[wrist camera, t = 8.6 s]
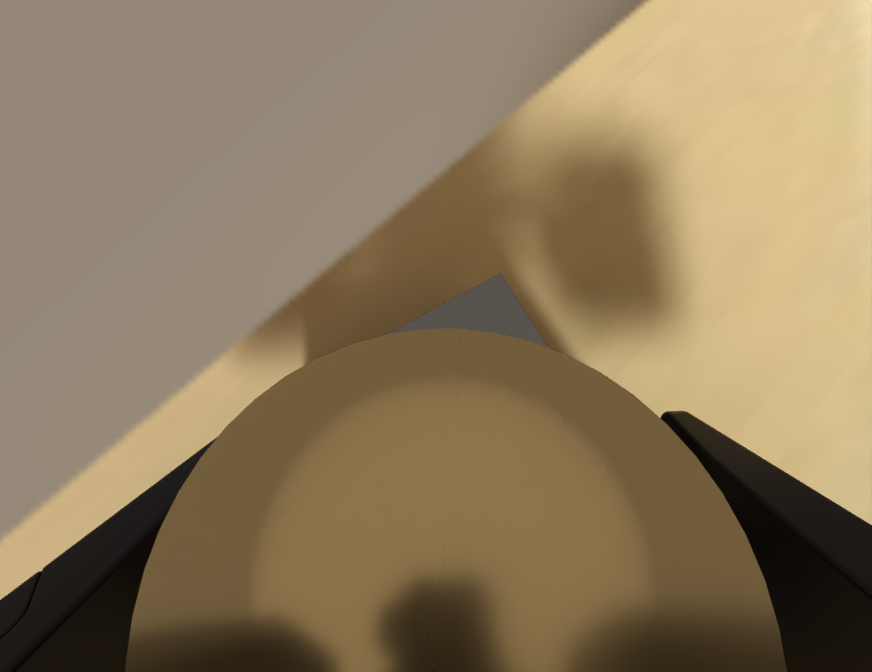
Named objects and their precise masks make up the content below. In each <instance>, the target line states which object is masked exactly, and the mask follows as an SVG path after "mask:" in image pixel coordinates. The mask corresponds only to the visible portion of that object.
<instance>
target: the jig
mask: <svg viewBox="0 0 872 672" xmlns="http://www.w3.org/2000/svg"><path fill="white" fill-rule="evenodd" d="M455 328H457V329H467V330H476V331H485V332H494V333H498V334H502V335H507V336H511V337H515V338H519V339H523V340H528V341H531V342H534V343H536V344H539V345H542V346H544V347H547V346H546V344H545V343H544V341H543V339H542V338H541V336H540V335H539V333H538V331H537V330H536V328H535V327H534V325H533V323H532V322H531V320H530V319H529V317H528V315H527V314H526V312H525V311H524V309H523V308H522V306H521V304H520V303H519V301H518V300H517V298H516V296H515V295H514V293H513V292H512V290H511V288H510V287H509V285H508V284H507V282H506V280H505V279H504V277H503V276H502V274H501V273H500V274H498V275H496V276H494V277H492V278H491V279H489V280H487V281H485V282H483V283H481V284H479V285H478V286H476V287H474V288H472V289H470V290H468V291H466V292H465V293H463V294H461V295H459V296H457V297H455V298H453V299H452V300H450V301H448V302H446V303H444V304H442V305H440V306H439V307H437V308H435V309H433V310H431V311H429V312H427V313H426V314H424V315H422V316H420V317H418V318H416V319H414V320H413V321H411V322H409V323H407V324H405V325H403V326H401V327H400V328H398V329H396V330H394V331H392V332H390V333H388V334H392V333H398V332H405V331H412V330H419V329H455ZM547 348H548V347H547Z"/></svg>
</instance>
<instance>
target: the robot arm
mask: <svg viewBox="0 0 872 672" xmlns="http://www.w3.org/2000/svg"><path fill="white" fill-rule="evenodd" d="M661 419H662V420H663V421H664V422H665V423H666V424H667V425H668V426H669V427H670V428H671V429H672V430H673V432H674V433H675V434H676V435H677V436H678V437H679V438H680V439H681V440H682V441H683V443H684V444H685V445H686V446H687V447H688V448H689V449H690V450H691V451H692V452H693V454H694V455H695V456H696V457H697V458H698V460H699V461H700V463H701V464H702V465H703V467H704V468H705V470H706V471H707V472H708V474H709V475H710V477H711V478H712V479H713V481H714V482H715V483H716V485H717V486H718V488H719V489H720V490H721V492H722V493H723V495H724V497H725V499H726V500H727V502H728V504H729V506H730V507H731V509H732V511H733V513H734V515H735V516H736V518H737V520H738V522H739V523H740V525H741V527H742V529H743V531H744V532H745V534H746V536H747V539H748V541H749V544H750V546H751V548H752V551H753V553H754V555H755V558H756V560H757V562H758V565H759V567H760V570H761V572H762V574H763V577H764V579H765V582H766V585H767V589H768V592H769V596H770V599H771V602H772V606H773V609H774V613H775V616H776V619H777V623H778V626H779V630H780V635H781V641H782V647H783V653H784V658H785V664H786V670H787V672H872V525H870V524H869V523H867V522H865V521H864V520H862V519H861V518H859V517H857V516H856V515H854V514H852V513H851V512H849V511H848V510H846V509H844V508H843V507H841V506H839V505H838V504H836V503H835V502H833V501H831V500H830V499H828V498H826V497H825V496H823V495H822V494H820V493H818V492H817V491H815V490H813V489H812V488H810V487H809V486H807V485H805V484H804V483H802V482H800V481H799V480H797V479H796V478H794V477H792V476H791V475H789V474H787V473H786V472H784V471H782V470H781V469H779V468H778V467H776V466H774V465H773V464H771V463H769V462H768V461H766V460H765V459H763V458H761V457H760V456H758V455H756V454H755V453H753V452H752V451H750V450H748V449H747V448H745V447H743V446H742V445H740V444H739V443H737V442H735V441H734V440H732V439H730V438H729V437H727V436H726V435H724V434H722V433H721V432H719V431H717V430H716V429H714V428H713V427H711V426H709V425H708V424H706V423H704V422H703V421H701V420H699V419H698V418H696V417H695V416H693V415H691V414H690V413H688V412H685V411H668V412H664V413H663V414H662V416H661ZM216 439H217V438H215V439H214V440H213V441H211V442H210V443H209V444H207V445H206V446H205V447H203V448H202V449H201V450H199V451H198V452H197V453H195V454H194V455H193V456H191V457H190V458H189V459H187V460H186V461H185V462H183V463H182V464H181V465H179V466H178V467H177V468H175V469H174V470H173V471H172V472H170V473H169V474H168V475H166V476H165V477H164V478H162V479H161V480H160V481H158V482H157V483H156V484H154V485H153V486H152V487H150V488H149V489H148V490H146V491H145V492H144V493H142V494H141V495H140V496H138V497H137V498H136V499H134V500H133V501H132V502H130V503H129V504H128V505H126V506H125V507H124V508H122V509H121V510H120V511H118V512H117V513H116V514H114V515H113V516H112V517H110V518H109V519H108V520H106V521H105V522H104V523H102V524H101V525H100V526H98V527H97V528H96V529H94V530H93V531H92V532H90V533H89V534H88V535H86V536H85V537H84V538H82V539H81V540H80V541H78V542H77V543H76V544H74V545H73V546H72V547H70V548H69V549H68V550H66V551H65V552H64V553H62V554H61V555H60V556H58V557H57V558H56V559H54V560H53V561H52V562H50V563H49V564H48V565H46V566H45V567H44V568H43V570H42V571H39V572H37V573H36V574H34V575H33V576H32V577H30V578H29V579H28V580H26V581H25V582H24V583H22V584H21V585H20V586H18V587H17V588H16V589H14V590H13V591H12V592H10V593H9V594H8V595H6V596H5V597H4V598H2V599H1V600H0V672H125V670H126V657H127V650H128V643H129V637H130V630H131V623H132V616H133V612H134V608H135V604H136V600H137V596H138V592H139V588H140V584H141V580H142V577H143V573H144V569H145V567H146V564H147V561H148V559H149V556H150V553H151V551H152V548H153V545H154V543H155V540H156V537H157V535H158V532H159V530H160V528H161V526H162V524H163V522H164V520H165V518H166V516H167V514H168V512H169V510H170V508H171V506H172V504H173V502H174V500H175V498H176V496H177V494H178V492H179V490H180V489H181V487H182V486H183V484H184V483H185V481H186V480H187V478H188V477H189V475H190V473H191V472H192V470H193V469H194V467H195V466H196V464H197V463H198V461H199V460H200V458H201V457H202V456H203V454H204V453H205V452H206V451H207V449H208V448H209V447H210V446H211V445H212V443H213V442H214V441H215V440H216Z"/></svg>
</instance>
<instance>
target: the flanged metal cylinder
mask: <svg viewBox="0 0 872 672" xmlns="http://www.w3.org/2000/svg"><path fill="white" fill-rule="evenodd" d="M125 672H787V670H786V664H785V658H784V653H783V647H782V641H781V635H780V630H779V626H778V623H777V619H776V616H775V613H774V609H773V606H772V602H771V599H770V596H769V592H768V589H767V585H766V582H765V579H764V577H763V574H762V572H761V570H760V567H759V565H758V562H757V560H756V558H755V555H754V553H753V551H752V548H751V546H750V544H749V541H748V539H747V536H746V534H745V532H744V531H743V529H742V527H741V525H740V523H739V522H738V520H737V518H736V516H735V515H734V513H733V511H732V509H731V507H730V506H729V504H728V502H727V500H726V499H725V497H724V495H723V493H722V492H721V490H720V489H719V488H718V486H717V485H716V483H715V482H714V481H713V479H712V478H711V477H710V475H709V474H708V472H707V471H706V470H705V468H704V467H703V465H702V464H701V463H700V461H699V460H698V458H697V457H696V456H695V455H694V454H693V452H692V451H691V450H690V449H689V448H688V447H687V446H686V445H685V444H684V443H683V441H682V440H681V439H680V438H679V437H678V436H677V435H676V434H675V433H674V432H673V430H672V429H671V428H670V427H669V426H668V425H667V424H666V423H665V422H664V421H663V420H662V419H660V418H659V417H658V416H657V415H656V414H655V413H654V412H652V411H651V410H650V409H649V408H648V407H647V406H646V405H644V404H643V403H642V402H641V401H640V400H639V399H638V398H636V397H635V396H634V395H633V394H631V393H630V392H628V391H627V390H625V389H624V388H622V387H621V386H619V385H618V384H617V383H615V382H614V381H612V380H611V379H609V378H608V377H606V376H605V375H603V374H602V373H600V372H599V371H597V370H595V369H593V368H591V367H589V366H587V365H585V364H583V363H581V362H579V361H577V360H575V359H573V358H572V357H570V356H568V355H566V354H563V353H561V352H558V351H555V350H553V349H550V348H547V347H544V346H542V345H539V344H536V343H534V342H531V341H528V340H523V339H519V338H515V337H511V336H507V335H502V334H498V333H494V332H485V331H476V330H467V329H457V328H455V329H419V330H412V331H405V332H398V333H392V334H385V335H381V336H378V337H374V338H371V339H367V340H364V341H360V342H357V343H353V344H350V345H347V346H345V347H343V348H340V349H338V350H336V351H333V352H331V353H328V354H326V355H324V356H321V357H319V358H317V359H315V360H313V361H312V362H310V363H308V364H306V365H305V366H303V367H301V368H299V369H298V370H296V371H294V372H292V373H291V374H289V375H287V376H286V377H284V378H283V379H281V380H280V381H279V382H277V383H276V384H275V385H273V386H272V387H271V388H269V389H268V390H267V391H265V392H264V393H263V394H261V395H260V396H259V397H257V398H256V399H255V400H254V401H253V402H252V403H251V404H250V405H248V406H247V407H246V408H245V409H244V410H243V411H242V412H241V413H240V414H239V415H238V416H237V417H236V418H235V419H234V420H233V421H232V422H231V423H230V424H229V425H228V426H227V427H226V428H225V429H224V430H223V431H222V433H221V434H220V435H219V436H218V437H217V439H216V440H215V441H214V442H213V443H212V445H211V446H210V447H209V448H208V449H207V451H206V452H205V453H204V454H203V456H202V457H201V458H200V460H199V461H198V463H197V464H196V466H195V467H194V469H193V470H192V472H191V473H190V475H189V477H188V478H187V480H186V481H185V483H184V484H183V486H182V487H181V489H180V490H179V492H178V494H177V496H176V498H175V500H174V502H173V504H172V506H171V508H170V510H169V512H168V514H167V516H166V518H165V520H164V522H163V524H162V526H161V528H160V530H159V532H158V535H157V537H156V540H155V543H154V545H153V548H152V551H151V553H150V556H149V559H148V561H147V564H146V567H145V569H144V573H143V577H142V580H141V584H140V588H139V592H138V596H137V600H136V604H135V608H134V612H133V616H132V623H131V630H130V637H129V643H128V650H127V657H126V670H125Z"/></svg>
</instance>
